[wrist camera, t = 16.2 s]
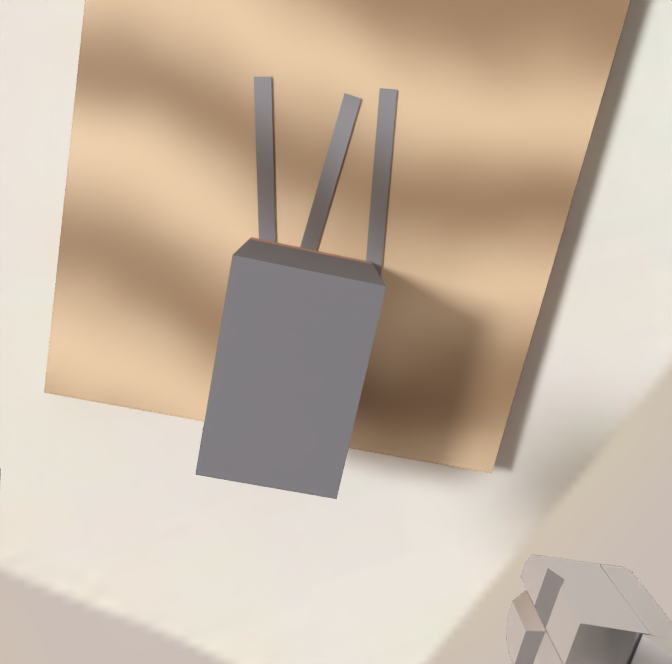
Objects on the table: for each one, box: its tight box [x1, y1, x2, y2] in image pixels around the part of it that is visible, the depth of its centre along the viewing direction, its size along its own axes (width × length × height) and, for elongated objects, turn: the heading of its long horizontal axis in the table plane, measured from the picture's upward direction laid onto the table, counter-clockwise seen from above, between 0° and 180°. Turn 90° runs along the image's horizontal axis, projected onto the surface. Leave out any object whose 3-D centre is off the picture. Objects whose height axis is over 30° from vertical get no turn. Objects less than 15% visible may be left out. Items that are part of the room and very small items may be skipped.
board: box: [44, 0, 630, 474], centre depth 22 cm, size 22×18×1 cm
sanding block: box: [196, 237, 386, 499], centre depth 21 cm, size 7×4×5 cm, turn 168°
